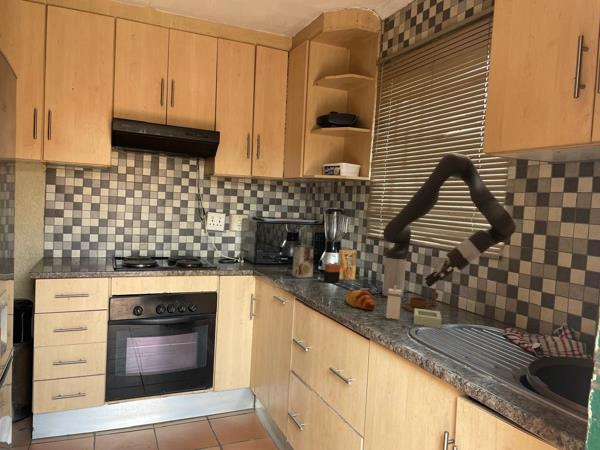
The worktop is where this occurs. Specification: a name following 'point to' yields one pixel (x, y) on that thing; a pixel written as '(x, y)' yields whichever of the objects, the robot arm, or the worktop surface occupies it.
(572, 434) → the worktop surface
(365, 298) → the croissant
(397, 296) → the block
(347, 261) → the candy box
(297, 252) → the coffee box
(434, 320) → the green rectangular tray
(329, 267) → the battery
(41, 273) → the worktop surface
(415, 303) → the place setting
